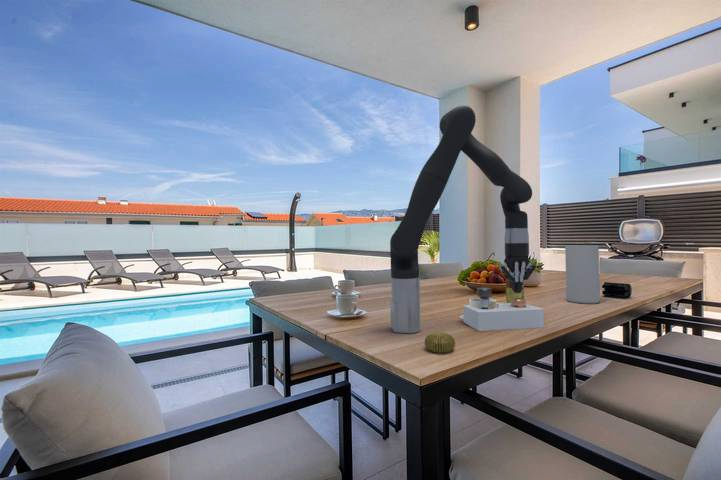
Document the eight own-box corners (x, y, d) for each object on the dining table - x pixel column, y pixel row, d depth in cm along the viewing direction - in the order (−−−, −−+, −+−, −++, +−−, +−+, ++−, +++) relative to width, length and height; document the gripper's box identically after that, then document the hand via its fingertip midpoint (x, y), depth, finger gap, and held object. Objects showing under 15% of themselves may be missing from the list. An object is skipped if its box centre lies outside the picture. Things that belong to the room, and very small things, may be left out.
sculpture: (418, 334, 92) (437, 329, 97) (418, 349, 92) (438, 343, 97) (441, 341, 85) (461, 335, 90) (442, 357, 85) (461, 350, 90)
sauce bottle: (527, 317, 124) (525, 263, 124) (508, 317, 126) (507, 263, 126) (522, 313, 131) (520, 262, 131) (504, 313, 132) (503, 262, 132)
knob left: (481, 315, 112) (480, 289, 112) (475, 312, 116) (474, 287, 116) (494, 314, 112) (494, 289, 112) (487, 311, 117) (487, 287, 117)
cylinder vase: (605, 301, 150) (603, 245, 150) (592, 305, 143) (590, 246, 143) (574, 298, 160) (572, 245, 160) (561, 301, 153) (559, 246, 153)
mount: (478, 331, 108) (478, 312, 108) (463, 322, 120) (463, 305, 120) (543, 327, 110) (543, 309, 110) (522, 319, 122) (521, 302, 122)
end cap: (632, 297, 158) (631, 283, 158) (627, 299, 154) (626, 284, 154) (606, 295, 166) (606, 281, 166) (601, 297, 162) (600, 282, 162)
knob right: (516, 325, 113) (515, 300, 113) (508, 322, 118) (508, 298, 118) (529, 324, 114) (528, 299, 114) (521, 321, 118) (520, 297, 118)
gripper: (503, 242, 111) (504, 295, 111) (541, 241, 113) (542, 293, 113) (492, 242, 119) (493, 291, 119) (528, 241, 120) (528, 290, 120)
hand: (517, 292), depth 116 cm, fingers closed
